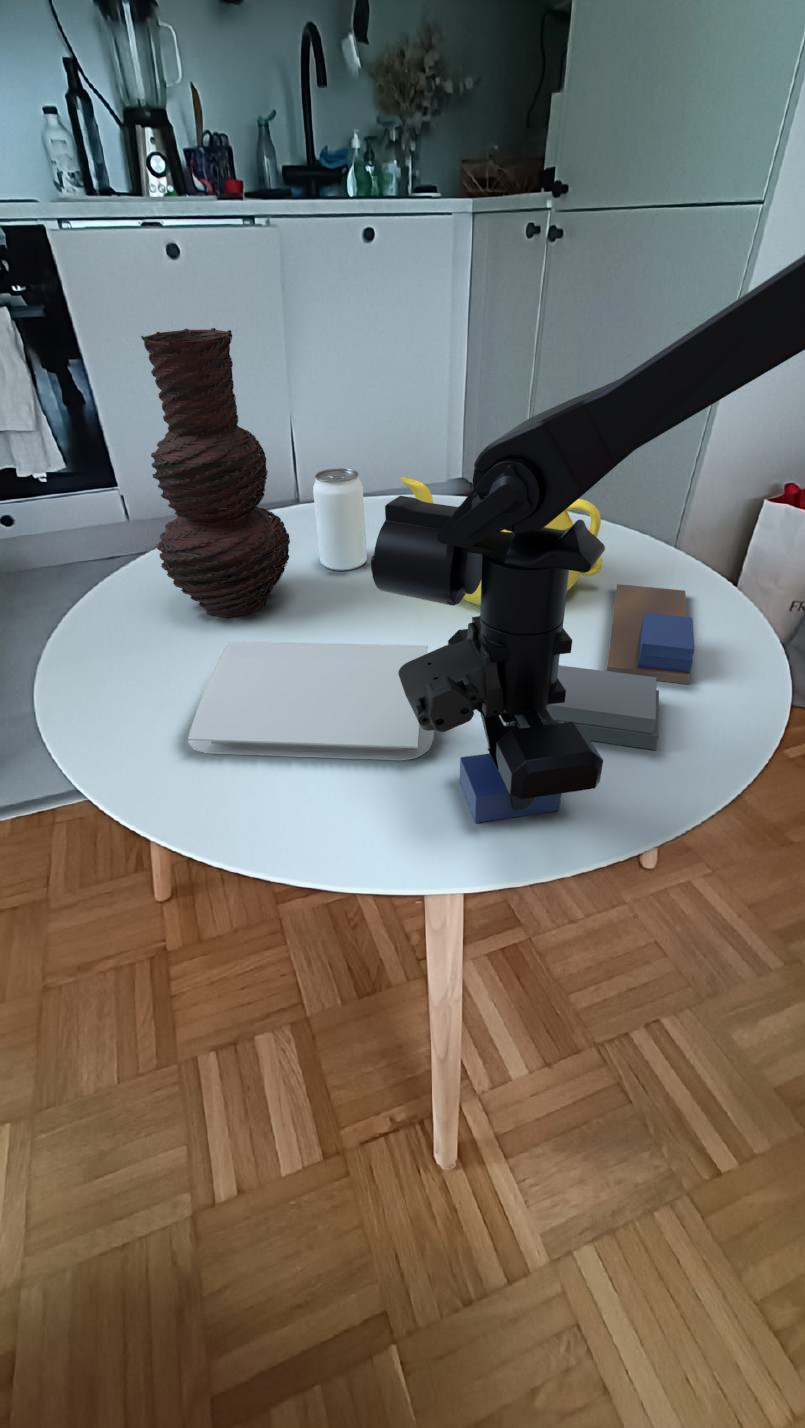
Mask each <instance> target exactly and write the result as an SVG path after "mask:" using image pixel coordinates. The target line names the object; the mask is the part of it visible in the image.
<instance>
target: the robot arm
mask: <svg viewBox="0 0 805 1428" xmlns="http://www.w3.org/2000/svg"><path fill="white" fill-rule="evenodd" d="M803 351H805V254H803V255H802V256H800V257H799V258H797V259H796V260H794V261H792V262H791V263H790V264H788V265H786V266H785V267H784V268H782V269H780V270H779V271H777V272H776V273H775V274H773V275H772V276H770V277H768V278H767V279H766V280H765V281H763V282H761V283H760V284H759V285H757V286H755V287H754V288H752V289H751V290H749V291H748V292H747V293H745V294H744V295H742V296H740V297H739V298H737V299H736V300H735V301H733V302H732V303H730V304H729V305H727V306H726V307H724V308H722V309H721V310H720V311H718V312H717V313H715V314H714V315H712V316H710V318H708V319H706V320H705V321H704V322H702V323H701V324H699V325H697V326H696V327H695V328H693V329H692V330H690V331H689V332H687V333H686V334H684V335H682V336H681V337H680V338H678V339H677V340H675V341H674V342H671V344H669V345H668V346H666V347H664V348H663V349H662V350H661V351H659V352H657V353H656V354H654V355H653V356H651V357H650V358H648V359H647V360H645V361H644V362H643V363H641V364H639V365H638V366H637V367H635V368H634V369H632V370H631V371H629V372H627V373H626V374H625V375H623V376H622V377H620V378H618V379H616V380H614V381H611V382H609V383H607V384H605V385H603V386H601V387H598V388H596V389H593V390H591V391H588V392H585V393H583V394H580V395H578V396H576V397H573V398H571V399H568V400H566V401H564V402H561V403H559V404H557V405H555V406H553V407H551V408H549V409H546V410H544V411H542V412H540V413H537V414H535V415H533V416H531V417H529V418H527V419H526V420H524V421H522V422H521V423H520V424H518V425H516V426H515V427H513V428H512V429H511V430H509V431H507V432H505V433H504V434H503V435H501V436H499V438H497V439H496V440H494V441H492V442H491V443H489V444H488V445H487V446H486V447H485V448H484V449H483V450H482V451H481V452H480V453H479V454H478V456H477V457H476V460H475V461H474V464H473V466H474V470H473V475H472V487H473V489H472V490H471V491H470V493H468V495H467V496H466V498H465V499H464V500H463V502H461V504H460V505H459V506H454V505H447V504H440V503H434V502H433V503H428V502H423V501H421V500H418V499H416V497H411V496H406V495H405V496H404V495H399V496H397V497H396V498H394V499H393V500H391V501H389V502H388V503H386V504H385V506H384V515H385V518H384V519H385V520H384V521H383V523H382V525H381V527H380V530H379V532H378V535H377V538H376V541H375V546H374V551H373V552H374V553H373V555H372V556H371V559H370V570H371V576H372V580H373V583H374V585H375V586H376V588H377V589H378V590H380V591H381V592H384V593H389V594H394V595H399V596H402V597H403V596H405V597H409V598H413V599H419V600H422V601H423V600H424V601H428V602H432V603H433V602H434V603H437V604H443V605H447V606H456V605H458V604H460V603H461V602H462V600H464V599H463V597H464V596H465V594H473V593H474V592H475V591H476V590H477V588H478V586H479V584H480V582H481V603H480V606H479V607H480V608H479V609H480V610H479V616H472V617H471V622H468V623H467V628H464V629H463V628H462V629H458V630H457V631H456V632H455V633H454V634H453V635H452V636H451V637H450V638H448V639H447V644H446V645H443V646H441V647H438V648H437V649H434V650H432V651H430V652H427V654H425V655H423V656H421V657H418V658H416V659H414V660H412V661H409V662H407V663H405V664H404V665H403V666H402V667H401V668H400V669H399V672H398V674H399V677H400V680H401V683H402V686H403V689H404V692H405V695H406V697H407V699H408V701H409V703H410V705H411V708H412V710H413V712H414V714H415V716H416V718H417V720H418V722H419V724H420V726H421V728H422V729H423V730H426V731H432V730H434V731H435V732H439V733H445V732H448V731H451V730H453V729H454V728H457V727H459V726H462V725H464V724H466V723H468V722H470V721H471V720H473V717H474V715H475V710H476V711H477V712H478V713H480V718H481V721H482V726H483V729H484V734H485V739H486V743H487V746H488V748H487V751H488V753H490V755H491V757H492V760H493V762H494V764H495V766H496V768H497V770H498V771H499V773H500V774H501V776H502V779H503V781H504V783H505V785H506V787H507V789H508V792H509V794H510V799H511V805H512V808H513V810H514V811H518V810H524V809H526V808H527V807H528V806H529V805H530V804H531V803H532V802H533V801H534V799H535V798H536V797H541V796H548V795H554V794H561V795H562V794H568V793H574V792H580V791H589V790H594V789H596V788H597V787H598V785H599V783H601V777H602V770H603V764H604V759H603V758H602V756H601V755H600V753H599V752H598V750H597V749H596V747H595V745H594V744H593V741H591V740H590V739H589V738H588V736H587V735H586V733H585V732H584V730H582V729H581V728H580V727H579V726H577V725H576V724H575V723H574V722H573V721H572V722H565V723H564V722H561V721H555V720H554V719H553V718H552V716H551V714H550V713H549V711H548V710H547V705H549V704H557V703H564V702H565V697H566V690H565V688H564V687H563V685H562V684H561V682H560V681H559V679H558V678H557V674H558V666H559V665H560V664H559V663H560V658H561V657H560V656H561V655H564V654H571V653H572V647H573V639H572V637H571V636H570V635H569V634H568V633H567V631H566V630H565V628H564V621H565V613H566V612H565V611H566V602H567V593H568V591H567V585H568V577H569V570H571V571H577V572H583V573H586V572H589V571H590V570H591V568H592V567H593V566H594V564H595V563H596V562H597V560H598V559H599V557H600V556H601V557H602V555H603V554H604V552H605V550H606V546H605V544H604V543H603V542H602V541H601V540H600V539H599V538H598V536H597V537H596V536H595V535H593V534H592V533H591V532H590V531H589V530H590V529H589V528H588V527H587V525H586V523H585V521H584V520H583V519H577V520H576V521H574V522H573V525H572V526H571V527H570V528H568V529H565V530H559V529H553V528H546V527H545V526H547V525H548V524H549V523H550V522H551V521H553V520H554V519H555V518H556V517H557V516H559V515H560V514H561V513H562V512H563V511H564V510H566V509H567V508H568V507H569V506H570V505H572V504H573V503H574V502H575V501H576V500H578V499H581V497H582V496H584V495H585V494H586V493H587V492H588V491H590V489H592V488H593V487H594V486H596V485H597V483H599V482H600V481H602V479H603V478H604V477H606V476H607V475H608V474H609V473H610V472H612V470H614V468H616V467H617V466H618V465H619V464H621V462H623V461H624V460H625V459H626V458H628V457H629V456H630V455H631V454H632V453H634V452H635V451H636V450H638V449H640V448H641V447H642V446H644V445H646V444H648V443H649V442H651V441H653V440H655V439H656V438H658V437H659V436H661V435H663V434H665V433H666V432H668V431H670V430H672V429H673V428H674V427H676V426H678V425H680V424H681V423H684V422H685V421H687V420H689V419H690V418H691V417H693V416H695V415H697V414H699V413H700V412H702V411H703V410H706V409H707V408H708V407H710V406H712V405H713V404H716V403H717V402H719V401H721V400H722V399H724V398H725V397H727V396H729V395H731V394H732V393H734V392H735V391H738V390H739V389H741V388H742V387H744V386H746V385H747V384H749V383H751V382H753V381H754V380H756V379H758V378H759V377H762V376H763V375H765V374H766V373H768V372H770V371H771V370H773V369H775V368H776V367H778V366H780V365H781V364H783V363H785V362H787V361H789V360H790V359H792V358H793V357H795V356H797V355H798V354H800V353H802V352H803ZM502 530H507V531H510V532H502Z"/></svg>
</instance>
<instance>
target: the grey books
mask: <svg viewBox="0 0 805 1428" xmlns="http://www.w3.org/2000/svg"><path fill="white" fill-rule="evenodd" d="M557 678H558V679H559V681H560V682H561V684H562V685H563V687H564V688H565V690H566V697H565V702H564V703H557V704H549V705H547V710H548V711H549V713H550V714H551V716H552V718H553V719H554V720H555V721H561V722H564V723H565V722H572V721H573V722H574V723H575V724H576V725H577V726H579V727H580V728H581V729H582V730H584V732H585V733H586V735H587V736H588V738H589V739H590V741H591V742H598V743H605V744H611V745H617V746H618V745H619V746H624V747H631V748H632V747H633V748H638V749H647V750H654V751H656V750H657V745H658V741H659V733H660V731H659V727H660V726H659V725H660V724H659V723H660V713H659V712H660V690H659V689H657V680H656V677H650V676H642V675H634V674H626V673H618V672H609V671H606V670H600V669H593V668H592V669H591V668H584V667H576V666H568V665H561V664H559V666H558V674H557Z"/></svg>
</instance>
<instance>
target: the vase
mask: <svg viewBox="0 0 805 1428" xmlns="http://www.w3.org/2000/svg"><path fill="white" fill-rule="evenodd" d="M140 339H141V340H142V341H143V346H144V348H145V350H146V351H147V353H148V360H149V362H150V364H151V365H152V366H153V368H152V370H151V371H150V373H151V375H152V376H153V377H154V378H155V380H154V382H155V385H156V387H157V388H158V389H159V390H160V391H159V393H158V395H157V396H158V399H159V400H160V401H161V409H162V411H163V413H164V415H162V418H163V421H164V422H165V423H166V424H167V425H168V426H167V432H166V433H165V435H164V438H163V439H162V440H159V441H158V442H157V443H156V447H157V449H156V450H155V451H154V452H152V453H151V454H150V458H153V460H154V461H153V462H151V467H152V468H153V469H155V470H156V471H155V473H152V478H153V479H155V480H157V481H158V482H159V484H158V485H157V488H159V489H160V490H161V491H162V493H161V494H160V497H161V498H162V499H164V500H166V501H168V502H169V504H168V503H167V506H168V507H169V508H170V509H172V510H174V511H175V512H174V515H175V516H177V517H176V518H175V519H173V520H171V521H168V522H167V523H165V524H164V529H165V531H164V532H161V533H160V534H159V539H160V542H158V544H156V549H157V550H158V551H159V552H160V553H159V559H160V560H161V561H162V562H161V566H160V567H161V568H162V569H163V570H164V571H166V576H167V577H168V578H170V579H171V580H172V584H173V586H174V587H176V588H179V589H180V591H181V592H182V593H183V594H185V595H189V596H190V597H189V598H190V599H191V600H192V601H194V602H198V606H200V607H201V608H203V609H204V611H205V613H206V615H210V616H216V617H222V618H226V619H229V618H232V617H239V616H244V615H245V616H246V615H251V614H253V612H256V611H257V610H259V609H260V608H262V607H263V606H266V605H267V600H268V597H269V596H270V594H271V593H272V591H273V590H274V587H276V585H277V584H278V582H279V581H280V579H282V577H283V575H284V574H283V573H284V572H285V570H286V566H287V565H288V561H289V559H290V555H289V552H290V544H291V538H290V534H289V532H287V529H286V527H285V523H284V521H283V520H282V518H281V517H280V516H278V515H276V514H275V513H274V512H273V511H271V510H267V509H266V508H263V507H258V506H259V504H260V503H261V502H262V500H263V499H264V497H265V492H266V483H267V481H266V480H267V479H268V470H267V457H266V453H265V451H264V448H263V447H262V445H261V444H260V441H259V440H258V439H257V436H255V435H254V434H253V433H252V432H250V431H248V430H247V429H245V428H242V427H240V426H239V425H238V424H239V415H238V405H237V398H236V394H235V393H234V388H235V386H234V379H233V367H234V362H233V358H232V357H231V355H230V354H231V353H230V352H231V347H230V344H231V343H232V339H233V334H232V330H231V329H228V330H227V331H226V330H221V329H220V330H219V329H216V328H215V327H212V328H210V329H189V328H183V329H182V330H172V331H163V332H160V331H156V332H155V333H153V334H150V335H146V336H144V335H141V336H140Z"/></svg>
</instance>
